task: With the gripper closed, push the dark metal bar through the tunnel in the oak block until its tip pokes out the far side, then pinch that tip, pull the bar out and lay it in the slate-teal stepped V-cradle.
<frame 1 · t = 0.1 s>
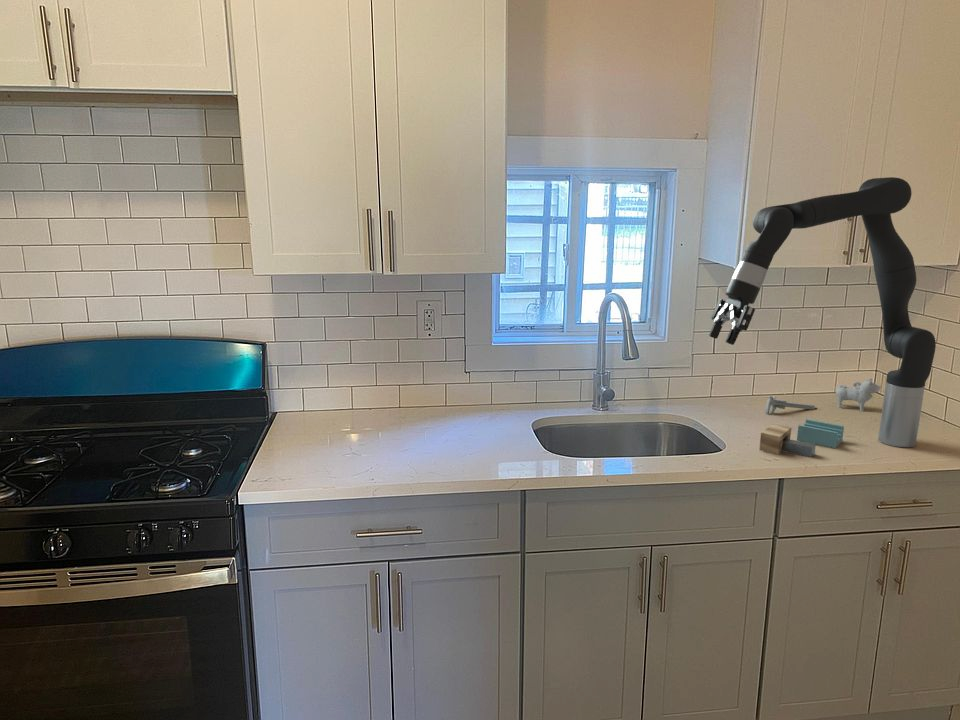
hand: (720, 340, 174), 31 cm above the counter, tool tilted 20°, fingers open, 8 cm apart
dog figurine: (854, 409, 222), on the counter
caliper: (791, 412, 219), on the counter
bore block: (774, 447, 186), on the counter
metal bar: (789, 451, 183), on the counter
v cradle: (819, 440, 191), on the counter
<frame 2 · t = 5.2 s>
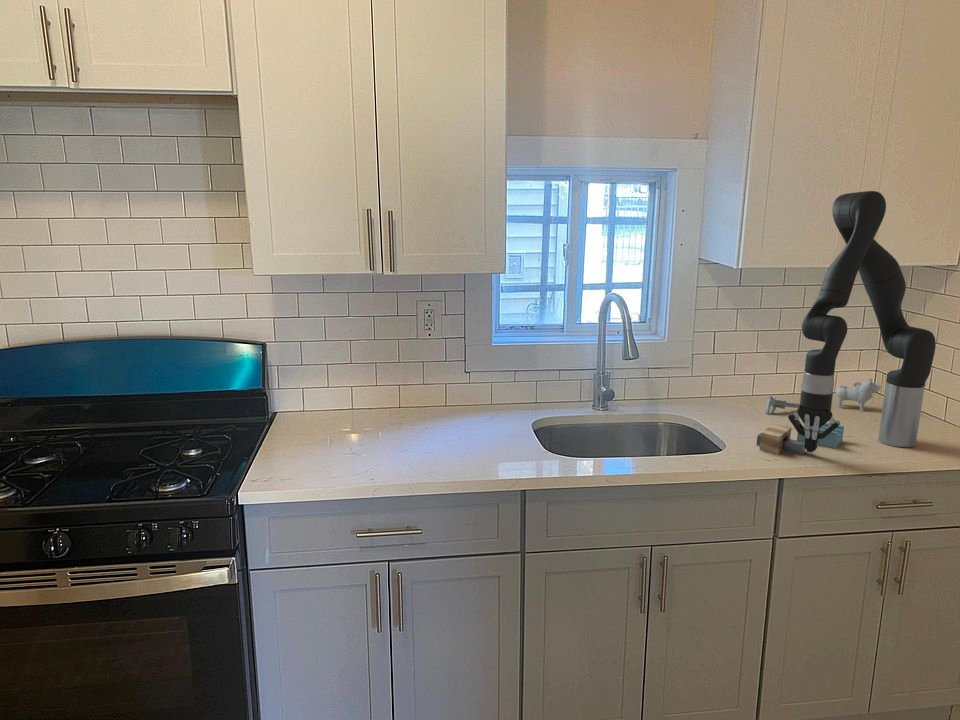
hand: (810, 451, 180), 1 cm above the counter, tool pointing down, fingers closed
metal bar: (780, 449, 185), on the counter, touching gripper
everything else where it was.
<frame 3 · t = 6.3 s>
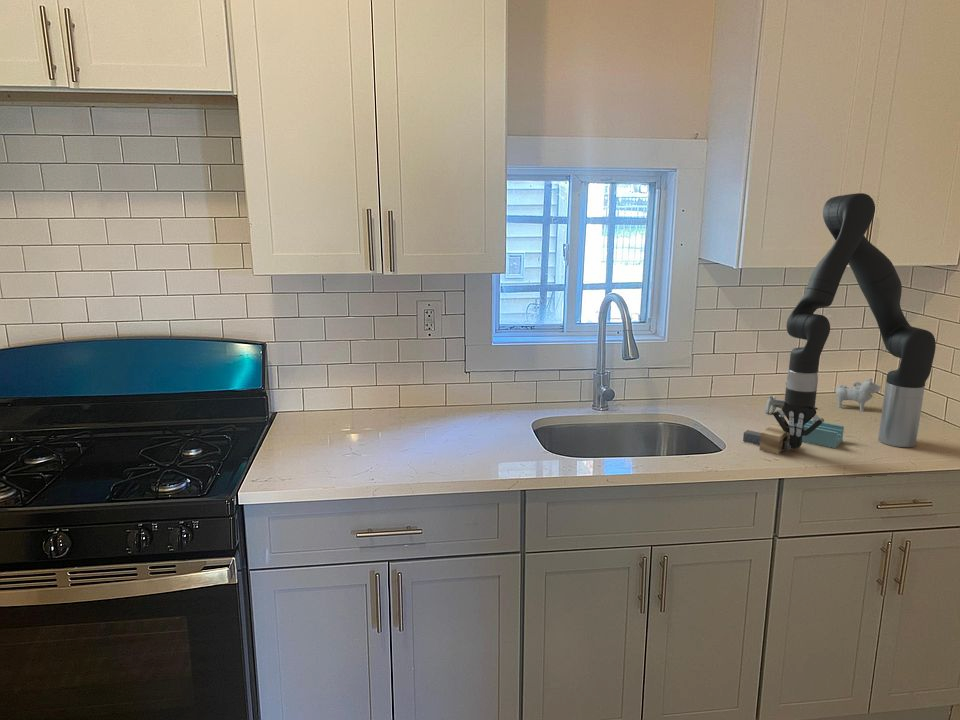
hand: (794, 447, 182), 1 cm above the counter, tool pointing down, fingers closed
metal bar: (766, 445, 188), on the counter
everything else where it was.
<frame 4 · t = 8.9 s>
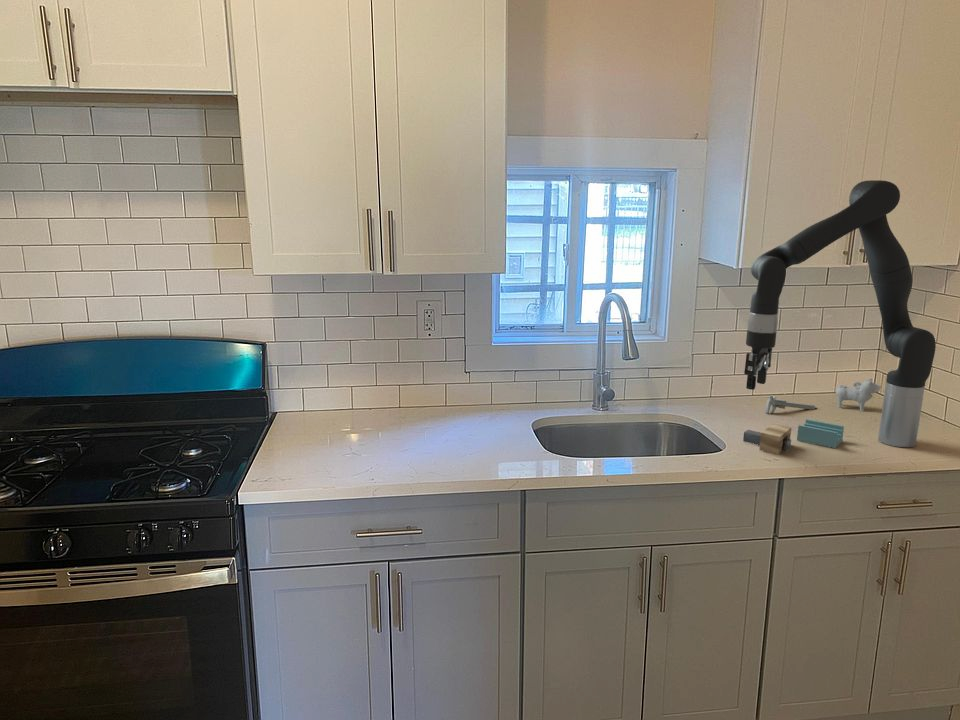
hand: (755, 386, 187), 16 cm above the counter, tool pointing down, fingers open, 8 cm apart
nothing on the counter moved.
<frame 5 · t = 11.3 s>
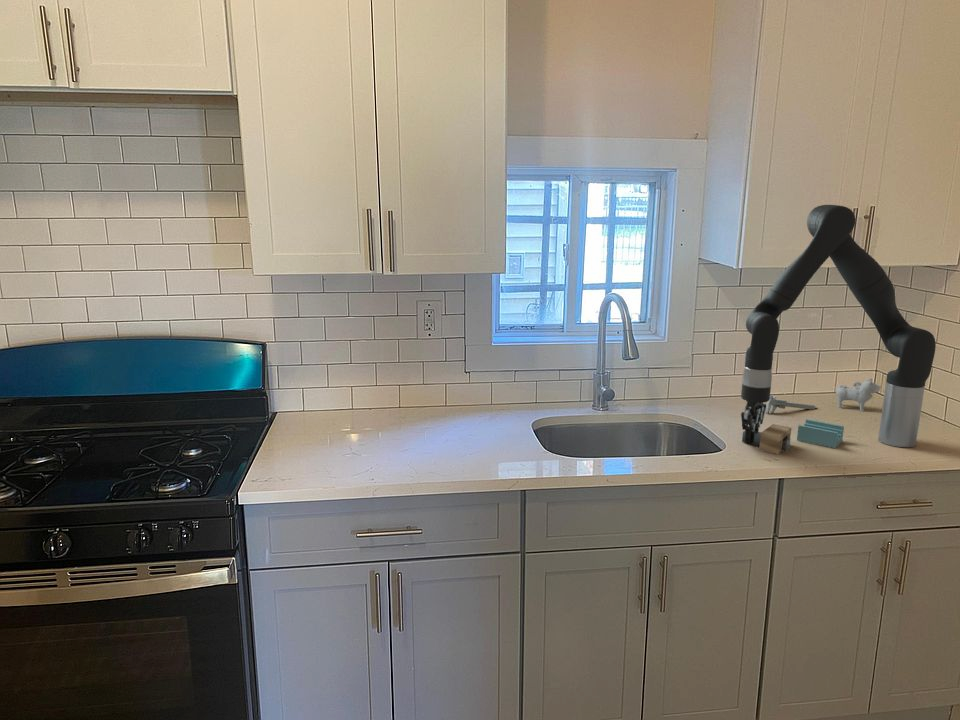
hand: (751, 441, 190), 0 cm above the counter, tool pointing down, fingers closed on metal bar, 3 cm apart
metal bar: (765, 445, 188), on the counter, touching gripper
everything else where it was.
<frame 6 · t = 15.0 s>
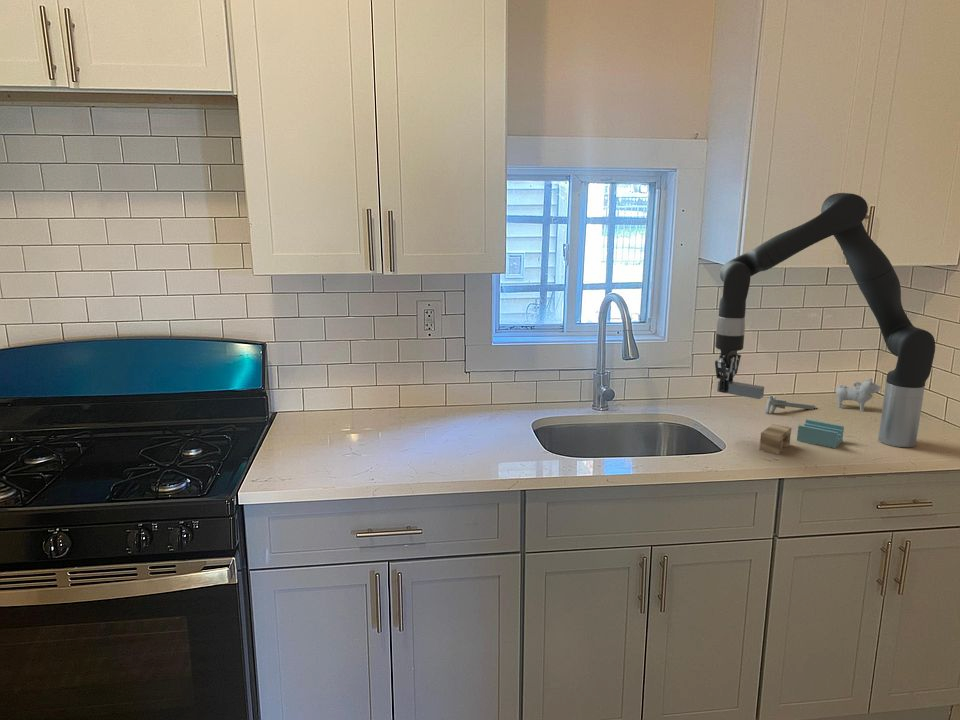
hand: (725, 390, 193), 14 cm above the counter, tool pointing down, fingers closed on metal bar, 3 cm apart
metal bar: (739, 394, 190), point 13 cm above the counter, touching gripper
everything else where it was.
when the fingers open (5 cm above the counter, at t = 18.7 s): metal bar drops 2 cm, resting on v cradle.
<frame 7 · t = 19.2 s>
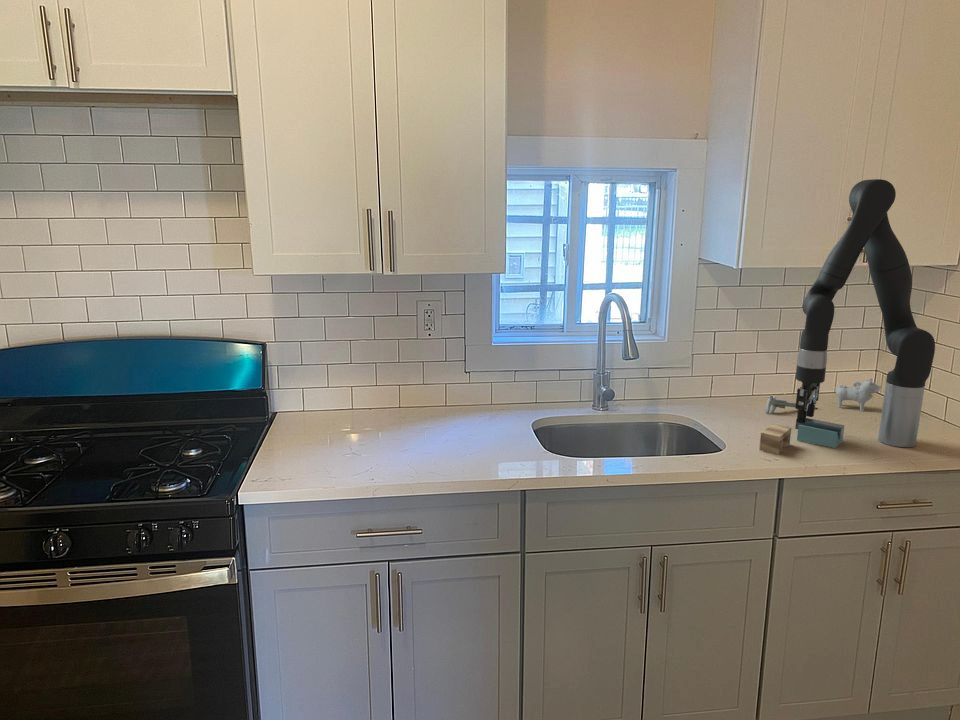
hand: (805, 419, 193), 5 cm above the counter, tool pointing down, fingers open, 7 cm apart
metal bar: (818, 432, 191), point 2 cm above the counter, touching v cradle
everything else where it was.
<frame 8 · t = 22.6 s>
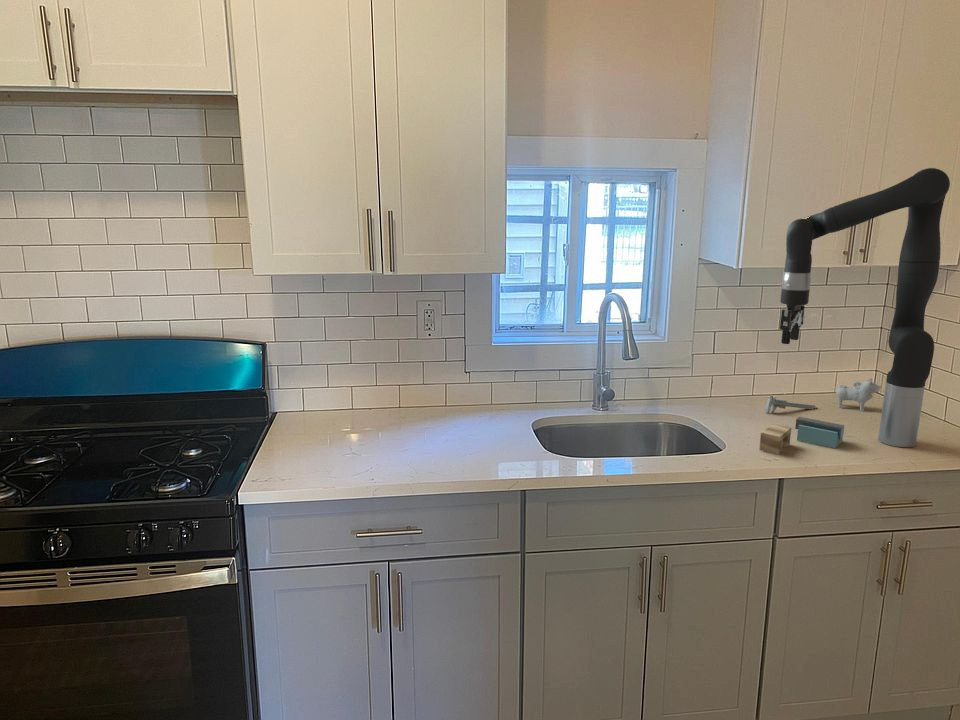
hand: (789, 341, 200), 26 cm above the counter, tool pointing down, fingers open, 8 cm apart
nothing on the counter moved.
at the end: metal bar 0.4 cm off-centre on the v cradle, point 2.5 cm above the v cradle's base; metal bar tilted 0°; the gripper is holding nothing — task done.
